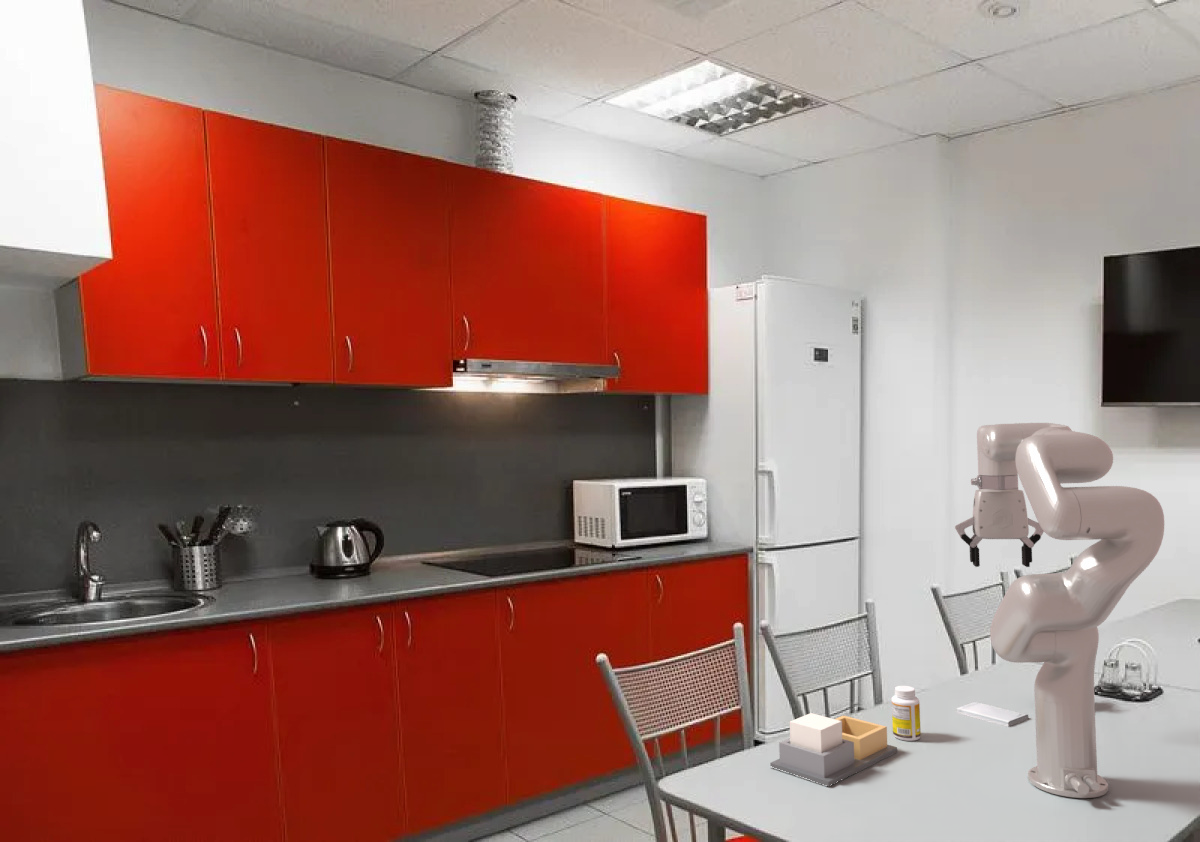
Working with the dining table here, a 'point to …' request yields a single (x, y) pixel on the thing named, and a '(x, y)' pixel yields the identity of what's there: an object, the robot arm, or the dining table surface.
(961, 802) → the dining table surface
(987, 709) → the hard drive
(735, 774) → the dining table surface
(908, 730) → the supplement bottle
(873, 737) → the block sorting tray
